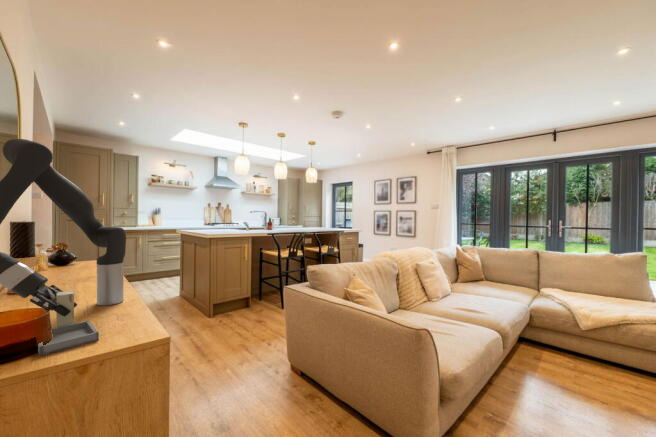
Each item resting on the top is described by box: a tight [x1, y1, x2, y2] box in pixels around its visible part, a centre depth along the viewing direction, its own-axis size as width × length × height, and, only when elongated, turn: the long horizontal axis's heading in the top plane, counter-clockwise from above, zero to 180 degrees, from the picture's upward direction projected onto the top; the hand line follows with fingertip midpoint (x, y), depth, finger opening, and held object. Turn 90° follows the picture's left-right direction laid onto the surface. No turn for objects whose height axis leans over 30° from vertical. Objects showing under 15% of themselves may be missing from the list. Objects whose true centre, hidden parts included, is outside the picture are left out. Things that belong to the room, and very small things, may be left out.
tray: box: [37, 319, 100, 357], centre depth 85 cm, size 15×13×2 cm
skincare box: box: [55, 289, 75, 328], centre depth 93 cm, size 6×4×12 cm
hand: (71, 310), depth 94 cm, fingers closed on skincare box, 7 cm apart
